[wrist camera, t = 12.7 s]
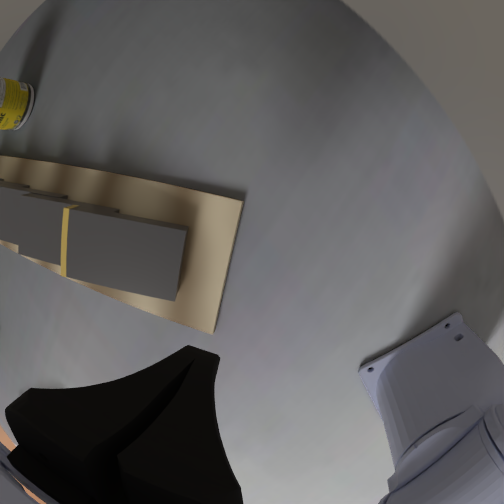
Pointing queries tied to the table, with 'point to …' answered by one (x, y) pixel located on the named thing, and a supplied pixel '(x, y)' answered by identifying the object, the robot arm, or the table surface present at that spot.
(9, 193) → the tile
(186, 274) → the birch board
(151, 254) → the tile
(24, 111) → the supplement bottle
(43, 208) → the tile
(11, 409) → the robot arm
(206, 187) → the table surface
